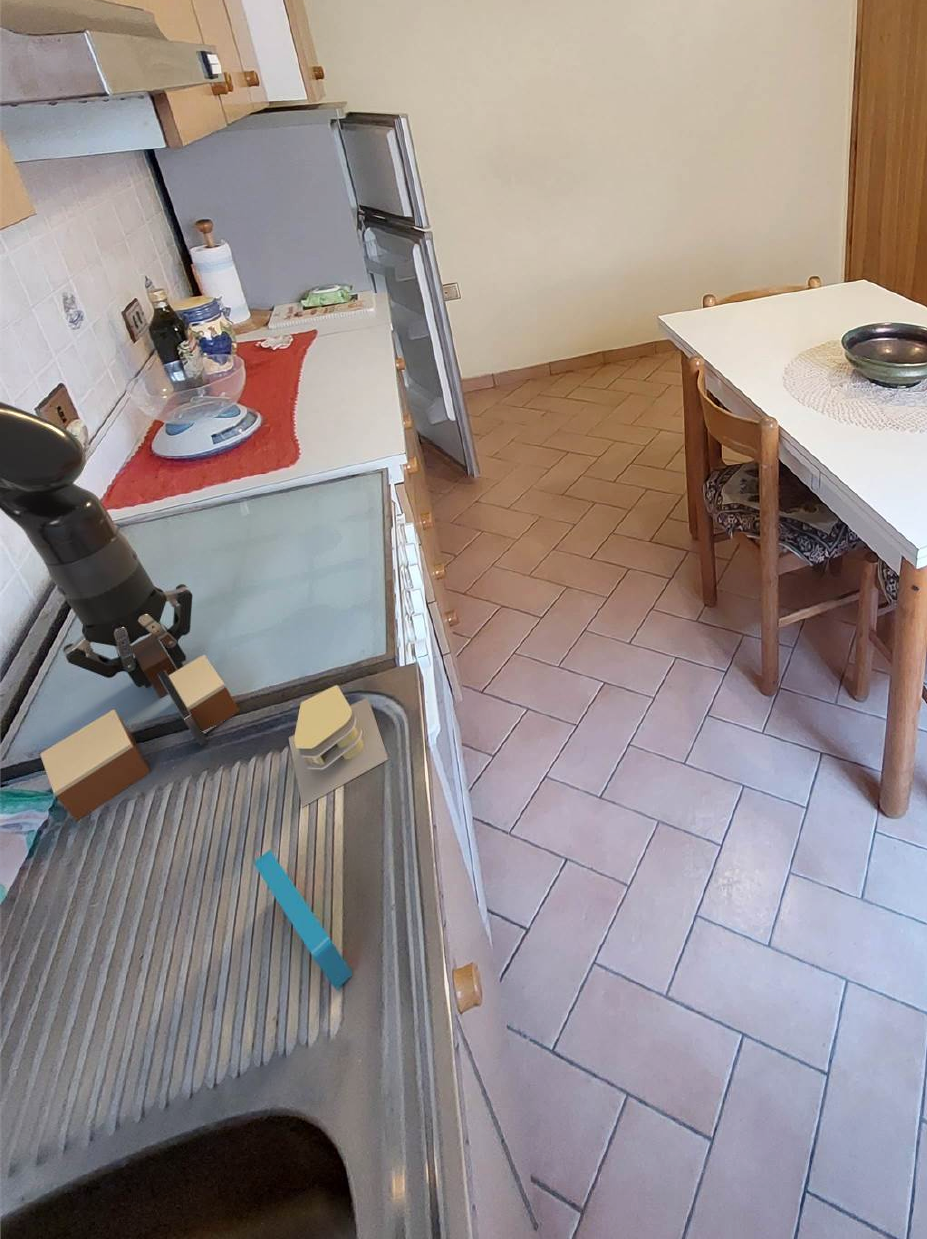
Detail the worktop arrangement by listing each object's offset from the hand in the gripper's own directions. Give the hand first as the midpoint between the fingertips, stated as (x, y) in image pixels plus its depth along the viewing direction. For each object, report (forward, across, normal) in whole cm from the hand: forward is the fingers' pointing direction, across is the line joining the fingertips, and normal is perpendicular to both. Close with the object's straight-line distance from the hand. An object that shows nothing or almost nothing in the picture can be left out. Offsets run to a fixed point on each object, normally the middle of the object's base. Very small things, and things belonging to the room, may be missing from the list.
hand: (163, 673), depth 92 cm
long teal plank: (+1, 0, +44) cm, 44 cm away
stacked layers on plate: (+1, -10, +28) cm, 30 cm away
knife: (+1, 0, +5) cm, 5 cm away
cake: (+1, +9, +10) cm, 13 cm away
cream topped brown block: (+1, -2, +10) cm, 10 cm away
